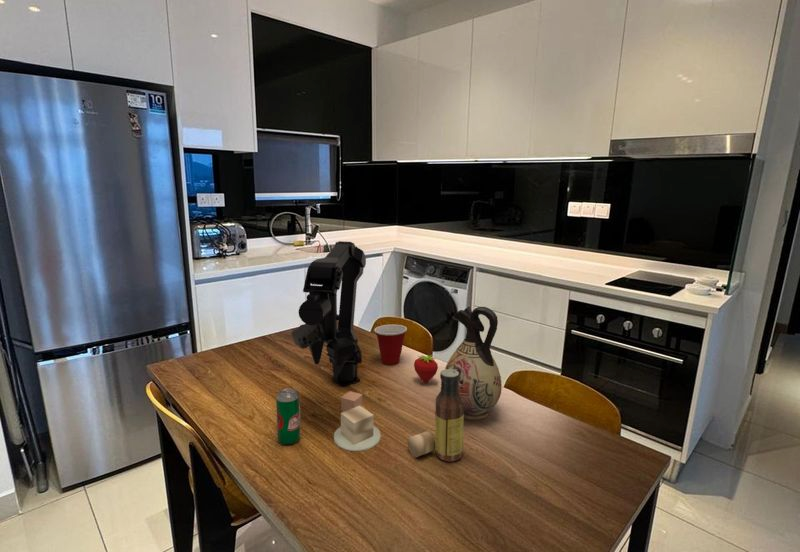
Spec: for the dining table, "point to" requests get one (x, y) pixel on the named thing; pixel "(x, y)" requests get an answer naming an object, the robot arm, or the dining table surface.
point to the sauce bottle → (449, 418)
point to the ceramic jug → (476, 364)
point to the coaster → (360, 446)
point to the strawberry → (425, 367)
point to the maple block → (357, 424)
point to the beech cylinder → (421, 444)
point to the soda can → (288, 416)
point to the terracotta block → (351, 401)
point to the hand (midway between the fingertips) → (326, 369)
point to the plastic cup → (390, 342)
